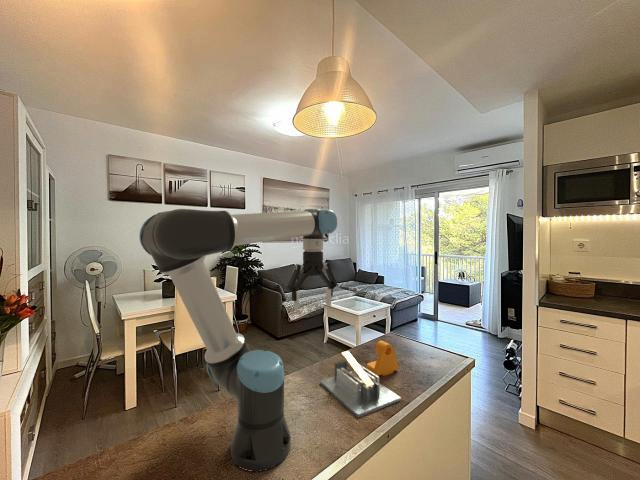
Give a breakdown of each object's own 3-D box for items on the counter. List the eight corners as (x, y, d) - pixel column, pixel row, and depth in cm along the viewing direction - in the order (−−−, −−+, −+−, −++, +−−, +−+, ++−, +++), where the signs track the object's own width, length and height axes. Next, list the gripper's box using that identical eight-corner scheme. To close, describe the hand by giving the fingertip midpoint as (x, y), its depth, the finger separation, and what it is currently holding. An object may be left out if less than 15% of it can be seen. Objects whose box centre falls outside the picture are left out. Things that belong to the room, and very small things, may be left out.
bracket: (385, 364, 119) (385, 336, 119) (398, 371, 113) (398, 341, 113) (366, 370, 114) (366, 341, 114) (378, 377, 108) (378, 347, 108)
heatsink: (400, 400, 93) (400, 381, 93) (357, 417, 84) (357, 396, 84) (358, 371, 113) (358, 356, 113) (320, 383, 104) (320, 366, 104)
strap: (375, 388, 93) (376, 386, 92) (368, 391, 91) (368, 389, 91) (347, 352, 106) (348, 350, 106) (341, 354, 105) (341, 352, 104)
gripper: (285, 251, 94) (285, 314, 94) (346, 250, 107) (346, 305, 107) (277, 250, 101) (277, 309, 101) (335, 249, 113) (335, 301, 113)
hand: (312, 307), depth 104 cm, fingers open, 13 cm apart
